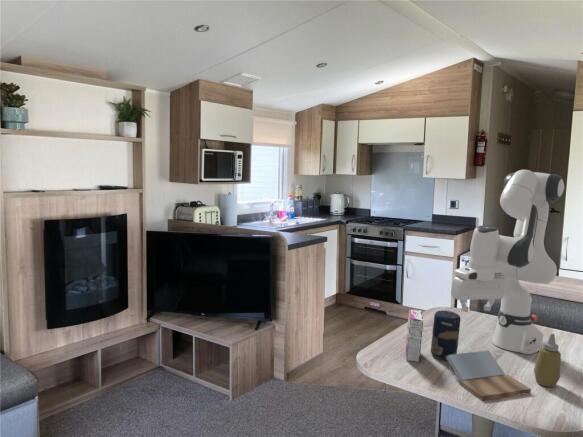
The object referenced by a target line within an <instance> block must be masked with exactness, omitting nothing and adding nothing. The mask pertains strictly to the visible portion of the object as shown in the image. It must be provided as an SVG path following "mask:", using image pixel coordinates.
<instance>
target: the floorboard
mask: <svg viewBox="0 0 583 437" xmlns="http://www.w3.org/2000/svg"><path fill="white" fill-rule="evenodd" d="M460 386H461V387H462V388H463V389H464V390H466V391H468V392H469V393H470V394H472V395H473V396H474V397H476V398H477V399H478V400H480V401H489V400H493V399H500V398H506V397H507V398H508V397H514V396H513V395H515V396H519V395H518V394H521V395H524V394H523V393H528V394H530V393H531V391H532V389H531V388H530V387H528V386H527V385H526V384H524V383H523V382H521V381H519V380H517V379H516V378H514V377H512V376H510V375H509V374H505V375H503V376H495V377H488V378H480V379H473V380H466V381H460ZM529 392H530V393H529Z"/></svg>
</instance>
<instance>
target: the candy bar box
mask: <svg viewBox="0 0 583 437" xmlns="http://www.w3.org/2000/svg"><path fill="white" fill-rule="evenodd" d="M407 318H408V320H407V330H406V339H405V340H406V342H405V354H406V361H407V362H413V363H414V362H415V363H420V359H421V348H422V338H423V325H424V318H423V312H422V310H415V309H409V310H408V317H407Z"/></svg>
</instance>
